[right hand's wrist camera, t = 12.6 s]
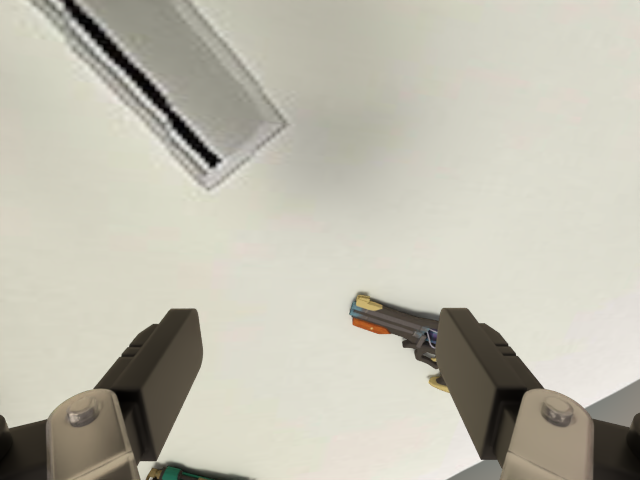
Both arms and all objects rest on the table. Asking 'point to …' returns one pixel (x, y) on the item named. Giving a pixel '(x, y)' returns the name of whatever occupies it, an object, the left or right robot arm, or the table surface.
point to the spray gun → (172, 474)
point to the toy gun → (400, 330)
